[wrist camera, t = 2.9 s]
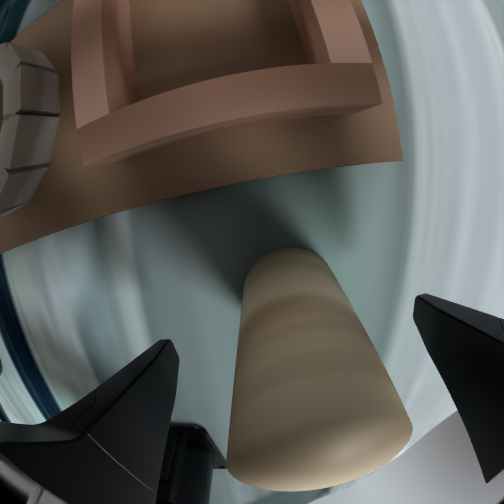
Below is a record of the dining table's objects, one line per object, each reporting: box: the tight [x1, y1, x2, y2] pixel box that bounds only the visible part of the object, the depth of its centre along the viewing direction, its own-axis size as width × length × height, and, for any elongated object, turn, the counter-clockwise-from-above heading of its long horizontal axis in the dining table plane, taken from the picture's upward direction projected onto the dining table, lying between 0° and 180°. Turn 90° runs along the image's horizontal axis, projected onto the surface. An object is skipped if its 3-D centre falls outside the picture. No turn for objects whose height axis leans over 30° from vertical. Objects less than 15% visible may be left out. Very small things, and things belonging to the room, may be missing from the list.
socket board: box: [0, 0, 403, 254], centre depth 7 cm, size 12×24×4 cm, turn 101°
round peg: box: [226, 247, 413, 491], centre depth 8 cm, size 4×4×8 cm
